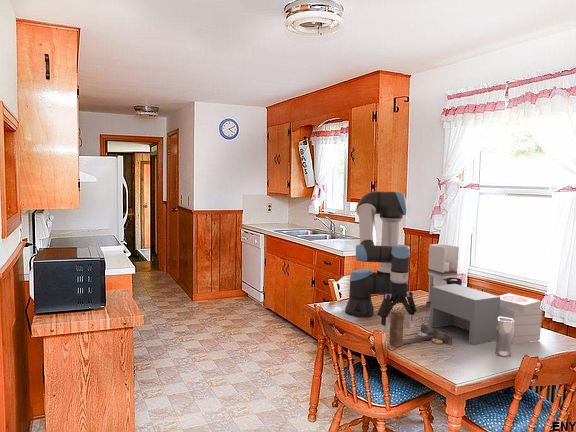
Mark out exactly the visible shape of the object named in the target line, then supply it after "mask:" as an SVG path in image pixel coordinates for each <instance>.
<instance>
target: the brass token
mask: <svg viewBox="0 0 576 432" xmlns="http://www.w3.org/2000/svg"><path fill="white" fill-rule="evenodd" d="M431 343H432V344H435V343H436V345H442V344H444V343H445V342H444V340H443V339H442V338H439V337H433V338H432V339H431Z"/></svg>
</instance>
